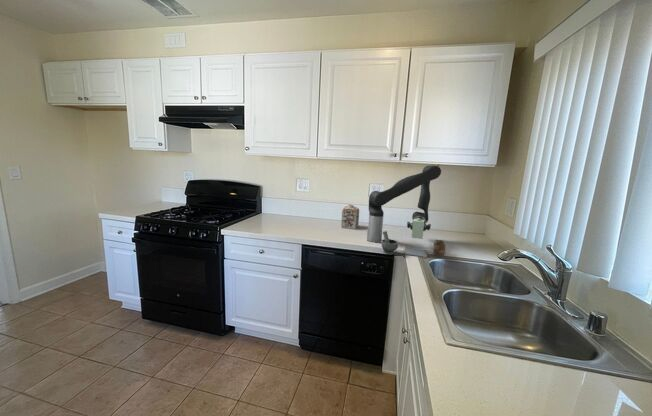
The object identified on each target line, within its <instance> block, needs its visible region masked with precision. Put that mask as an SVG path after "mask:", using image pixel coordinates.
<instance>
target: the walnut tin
mask: <svg viewBox="0 0 652 416" xmlns="http://www.w3.org/2000/svg"><path fill="white" fill-rule="evenodd" d="M446 248H447V247H446V243H445V240H441V239H436V242H435V241H434V244H433V251H432V253H433V254H432V255H433V256H438V255H439V256H440V257H445V256H446V255H445V254H446Z"/></svg>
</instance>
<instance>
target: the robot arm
mask: <svg viewBox="0 0 652 416" xmlns="http://www.w3.org/2000/svg"><path fill="white" fill-rule="evenodd" d="M441 174H442V169H441V167H440V166H438V165H426V166H424V167H423V169H422V171H421V172H420V173H417V174H411V175H409V176H406V177H403V178H401V179H399V180H398V181H397V182H395V183H394V185H393V186H391V187H390V188H388V189H385V190H384V191H383V190H382V191H379V190H373V191H372V192H371V193H369V197H368V213H369V214H368V215H369V216H368V219H369V220H368V226H367V232H366V233H367V235H366V241H369V242H371V243H381V241H382V240H383V239H382V238H383V228H384V227H383V226H384V225H383V224H384V215H385V214H384V210H383V207H382V206H384V205H386V204H387V203H389V202H391V201H392V200H394V199H396V198H398V197H400V196H403V195H404V194H407V193H408V192H411V191H412V190H415V189H416V188H418V187H420V194H419V198H418V204H417V208H419V209H421V210H422V211H423V212H421V211H415V212H413V214H412V216H411V219H412V222H410V221H407V222H406V227H407V228H408V229H410V230H411V231H412V228H413V220H414V219H417V218H420V219H421V220H424V229H423V232H425V231H426V230H427V231H430V229H431V226H432V224H431V223H429V224H427V223H428V222H429V206H430V202H431V192H430V187H431V185H430V184H431V181H433V180H436V179H438V178H439V177H440V176H441Z"/></svg>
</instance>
